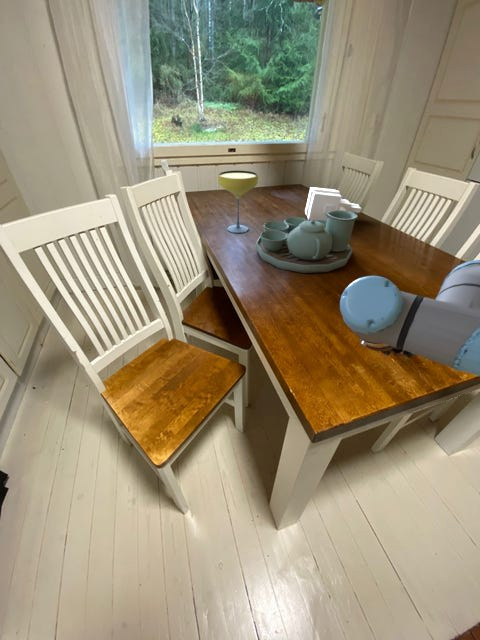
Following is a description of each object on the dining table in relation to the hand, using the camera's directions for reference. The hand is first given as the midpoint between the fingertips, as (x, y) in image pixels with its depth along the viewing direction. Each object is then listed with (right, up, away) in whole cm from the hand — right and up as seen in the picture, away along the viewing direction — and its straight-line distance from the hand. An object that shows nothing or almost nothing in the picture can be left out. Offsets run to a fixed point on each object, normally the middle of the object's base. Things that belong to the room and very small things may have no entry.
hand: (387, 349), depth 67 cm
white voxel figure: (+15, +64, +86) cm, 108 cm away
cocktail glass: (-37, +53, +71) cm, 96 cm away
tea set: (-10, +37, +51) cm, 63 cm away
